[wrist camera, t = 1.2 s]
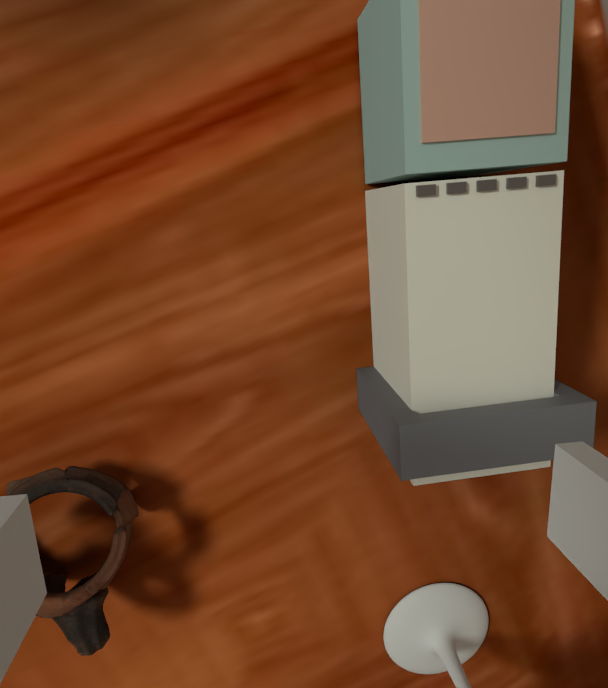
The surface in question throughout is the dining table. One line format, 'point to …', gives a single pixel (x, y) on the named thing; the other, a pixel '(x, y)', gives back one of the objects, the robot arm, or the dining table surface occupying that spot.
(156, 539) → the dining table surface
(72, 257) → the dining table surface
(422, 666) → the wineglass
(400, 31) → the retro monitor box
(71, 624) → the brown hollow ring
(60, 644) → the dining table surface
